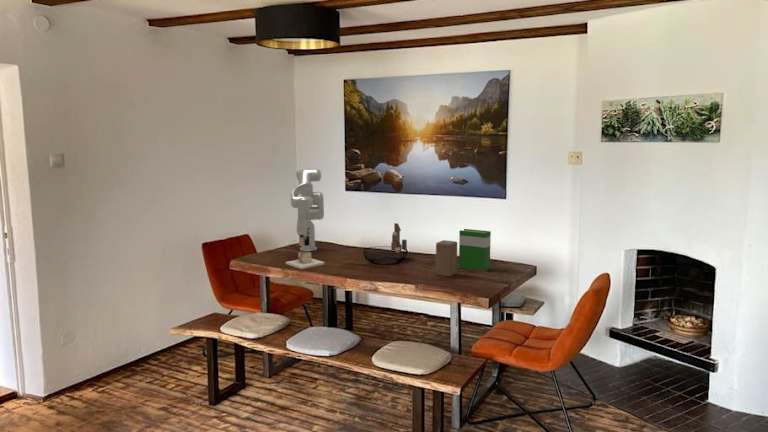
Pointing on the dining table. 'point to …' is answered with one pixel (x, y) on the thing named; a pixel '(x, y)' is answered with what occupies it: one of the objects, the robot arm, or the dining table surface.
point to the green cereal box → (474, 249)
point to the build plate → (304, 265)
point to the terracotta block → (302, 241)
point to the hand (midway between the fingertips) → (304, 244)
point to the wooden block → (446, 258)
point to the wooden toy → (397, 240)
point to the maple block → (304, 257)
